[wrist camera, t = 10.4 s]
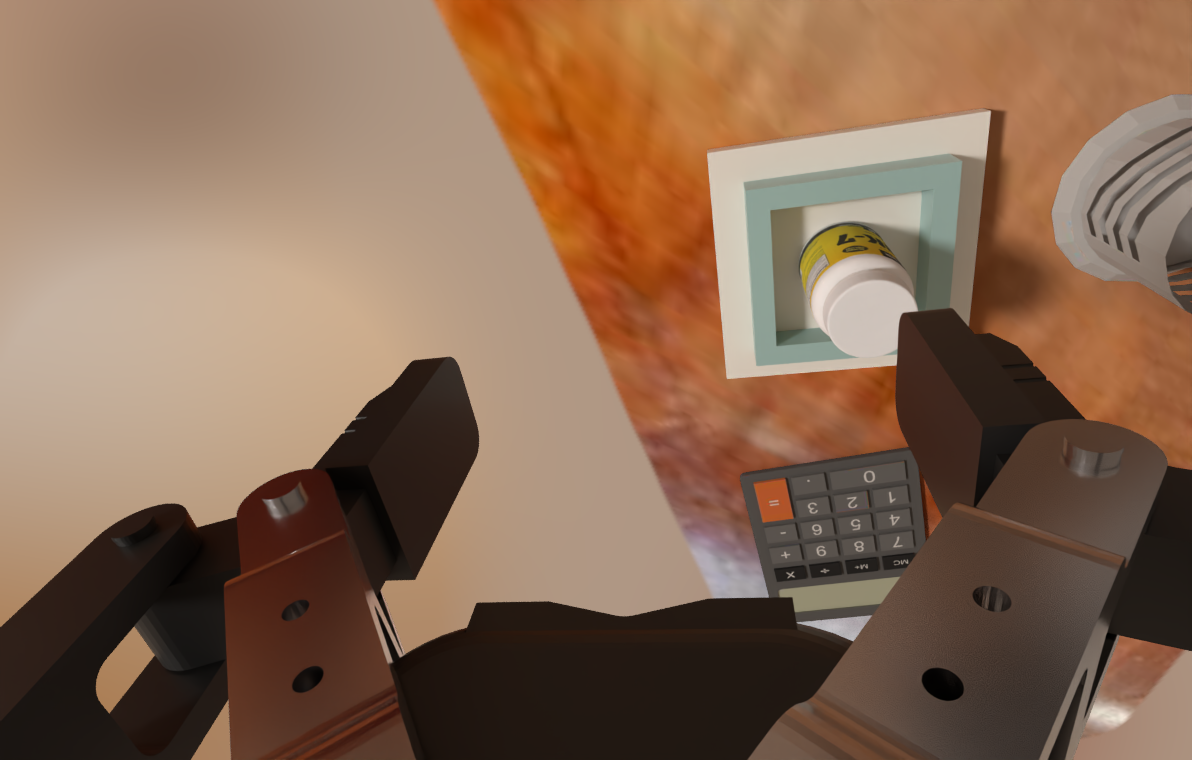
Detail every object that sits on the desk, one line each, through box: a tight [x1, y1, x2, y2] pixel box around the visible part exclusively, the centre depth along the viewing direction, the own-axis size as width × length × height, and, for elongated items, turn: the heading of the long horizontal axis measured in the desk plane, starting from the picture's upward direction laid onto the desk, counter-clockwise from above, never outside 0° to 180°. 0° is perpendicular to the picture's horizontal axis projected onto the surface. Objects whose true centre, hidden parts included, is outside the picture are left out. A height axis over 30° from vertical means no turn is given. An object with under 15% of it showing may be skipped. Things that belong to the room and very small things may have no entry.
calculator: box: [740, 447, 926, 622], centre depth 48 cm, size 12×1×15 cm
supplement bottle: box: [799, 222, 918, 358], centre depth 34 cm, size 5×5×8 cm
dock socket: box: [707, 108, 991, 379], centre depth 37 cm, size 14×14×3 cm
